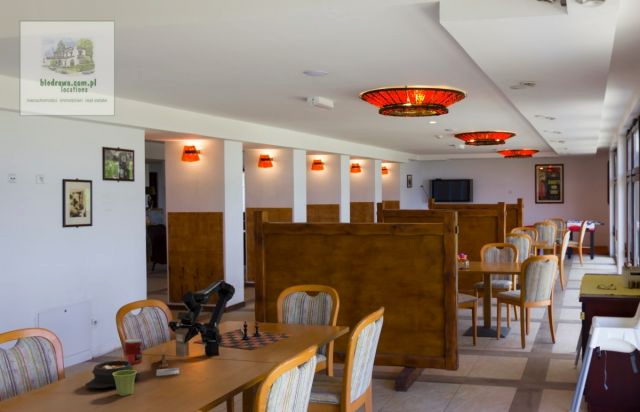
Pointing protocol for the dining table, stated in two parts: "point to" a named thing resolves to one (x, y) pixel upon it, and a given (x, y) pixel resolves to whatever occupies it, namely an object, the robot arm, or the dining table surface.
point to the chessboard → (248, 338)
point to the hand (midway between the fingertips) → (180, 342)
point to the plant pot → (124, 381)
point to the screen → (164, 359)
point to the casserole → (108, 373)
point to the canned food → (133, 350)
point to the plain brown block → (181, 343)
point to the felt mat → (167, 371)
